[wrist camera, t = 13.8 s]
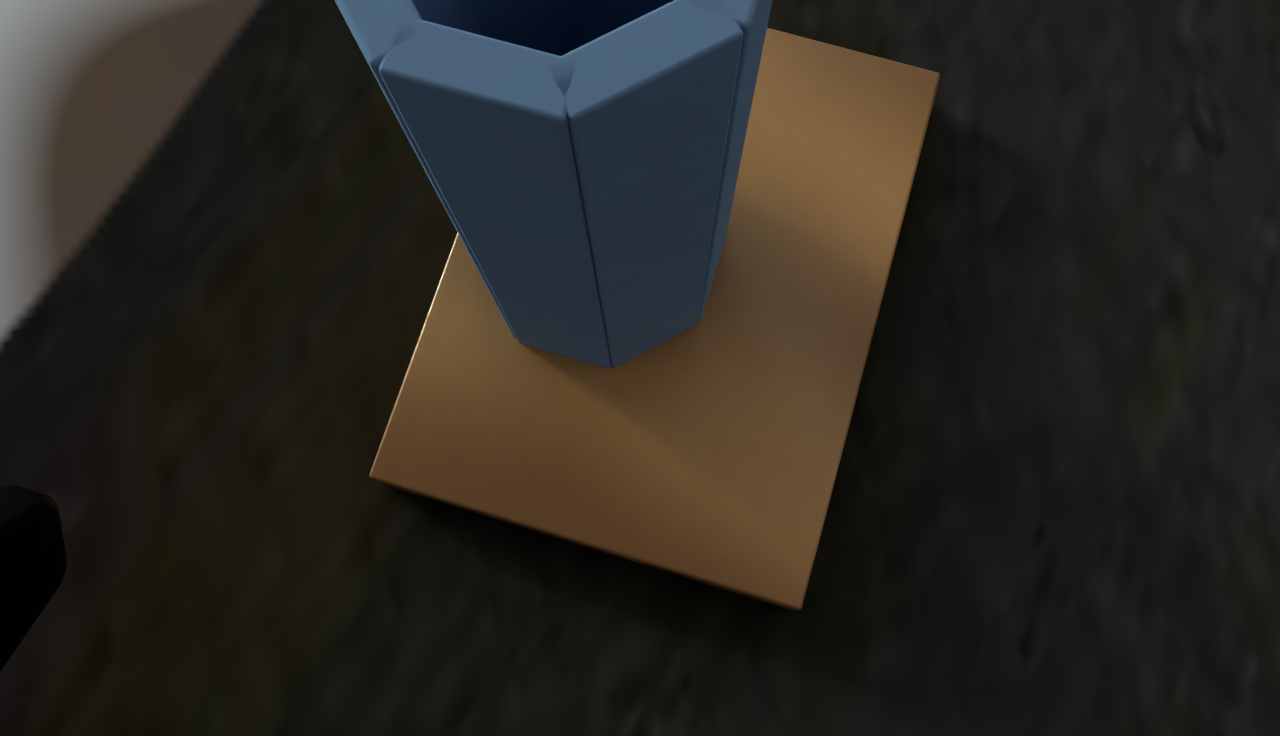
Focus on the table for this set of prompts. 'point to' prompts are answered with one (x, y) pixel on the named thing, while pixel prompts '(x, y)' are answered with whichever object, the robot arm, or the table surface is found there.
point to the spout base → (694, 356)
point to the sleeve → (577, 150)
